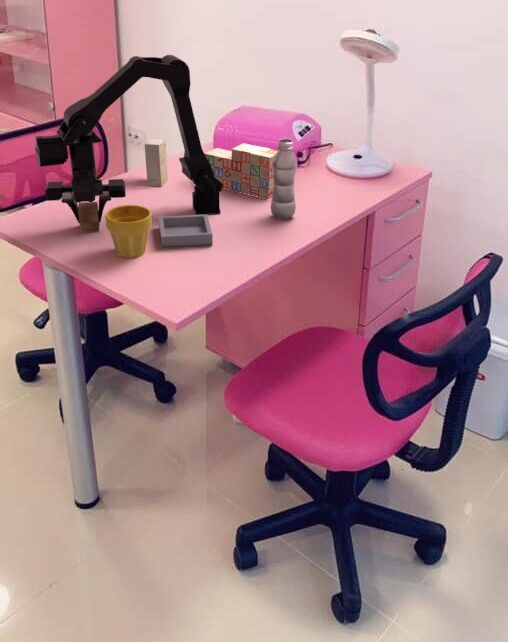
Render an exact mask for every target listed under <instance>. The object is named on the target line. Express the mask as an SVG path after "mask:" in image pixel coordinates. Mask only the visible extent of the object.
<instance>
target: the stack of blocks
mask: <svg viewBox="0 0 508 642" xmlns="http://www.w3.org/2000/svg"><path fill="white" fill-rule="evenodd" d="M277 152H278V150H275V149H272V148H269V147H264V146H258V145H253V144H248V143H244V142H243V143H241V144H239V145H237V146H235V147H233V148H231V150H227V149H222V148H218V147H216V148H213V149H212V150H210V151H208V152H204V154H205V155H206V157H207V159H208V161H209V163H210V165H211V167H212V170H213V172H214V177H215V178H217V179H218V180H219V181H220V182H221V183H222V184H223V186H222V189H223V188H225V189H224V190H226V189H229V190H228V191H230V190H233V191H232V192H234V191H237V192H236V193H238V192H241V193H240V194H242V193H246V194H250V195H254V196H258V197H261V198H260V199H262V198H265V199H264V200H266V199H269V200H271V199H272V197H273V188H274V181H273V168H272V160H273V157H274V156H275V154H276V153H277ZM246 194H245V195H246ZM250 195H249V196H250ZM254 196H253V197H254ZM258 197H257V198H258ZM270 198H271V199H270Z"/></svg>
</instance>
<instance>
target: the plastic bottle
mask: <svg viewBox="0 0 508 642" xmlns="http://www.w3.org/2000/svg"><path fill="white" fill-rule="evenodd" d="M293 144H294V140H292V139H290V138H280V139H278V141H277V151H278V152H277V153H276V154H275V156H274V157H273V160H272V168H273V181H274V188H273V197H272V198H271V202H270V213H271V214H272V216H273V217H274V218H276V219H282V220H283V219H284V220H285V219H290V218H291V217H293V216H294V215H295V214H296V209H297V208H296V199H295V182H296V181H295V180H296V173H297V167H298V159H297V156H296V155H295V152H293V149H294V145H293Z"/></svg>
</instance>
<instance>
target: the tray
mask: <svg viewBox="0 0 508 642" xmlns="http://www.w3.org/2000/svg"><path fill="white" fill-rule="evenodd" d="M158 225H159V226H158V227H159V236H160V242H161V243H160V244H161V249H177V248H180V249H181V248H194V247H210V246H209V245H213V243H214V241H213V240H214V239H213V232H212V227H211V224H210V219H209V217H208V214H201V215H196V214H187V215H186V214H185V215H172V216H170V215H169V216H168V215H167V216H158Z"/></svg>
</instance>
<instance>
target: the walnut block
mask: <svg viewBox="0 0 508 642" xmlns="http://www.w3.org/2000/svg"><path fill="white" fill-rule="evenodd" d="M98 210H99V202H98V201H93V202H88V201H87V202H79V203H78V214H79V222H80V224H79V229H80V233H92V232H93V233H95V232H94V231H99V232H100V228H99V227H100V225H101V224H100V223H101V222H100V223H99V220H98Z"/></svg>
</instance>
